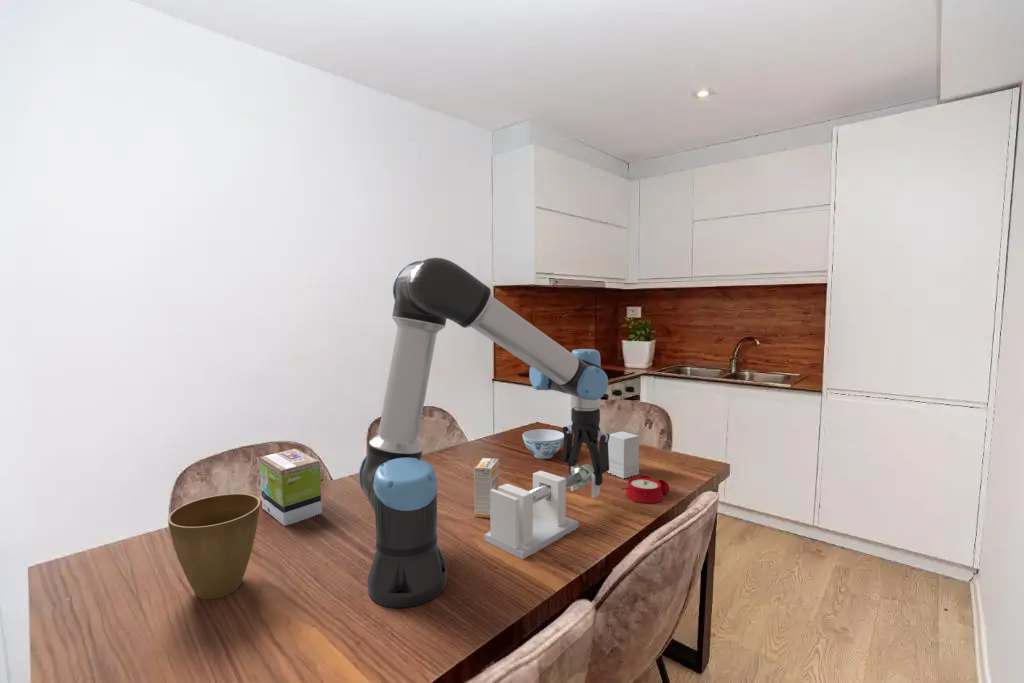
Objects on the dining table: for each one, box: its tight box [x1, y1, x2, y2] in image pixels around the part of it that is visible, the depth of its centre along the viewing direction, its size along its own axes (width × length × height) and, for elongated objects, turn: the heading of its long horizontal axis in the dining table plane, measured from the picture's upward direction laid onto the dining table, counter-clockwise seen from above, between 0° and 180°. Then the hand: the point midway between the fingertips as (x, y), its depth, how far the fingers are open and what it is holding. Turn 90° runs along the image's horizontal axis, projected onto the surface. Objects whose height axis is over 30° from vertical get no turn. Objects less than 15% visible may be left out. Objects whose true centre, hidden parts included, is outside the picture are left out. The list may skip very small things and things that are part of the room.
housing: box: [484, 470, 580, 560], centre depth 113 cm, size 20×12×12 cm, turn 136°
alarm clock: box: [621, 474, 670, 504], centre depth 136 cm, size 10×6×15 cm
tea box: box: [259, 448, 323, 527], centre depth 126 cm, size 15×10×15 cm, turn 47°
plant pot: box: [167, 493, 261, 600], centre depth 92 cm, size 15×15×16 cm
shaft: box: [528, 463, 594, 504], centre depth 121 cm, size 23×5×5 cm, turn 136°
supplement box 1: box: [473, 457, 500, 519], centre depth 126 cm, size 8×5×13 cm, turn 168°
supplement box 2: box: [606, 430, 640, 479], centre depth 153 cm, size 7×7×13 cm
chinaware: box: [522, 428, 564, 460], centre depth 171 cm, size 15×15×8 cm
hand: (585, 492), depth 128 cm, fingers open, 6 cm apart
